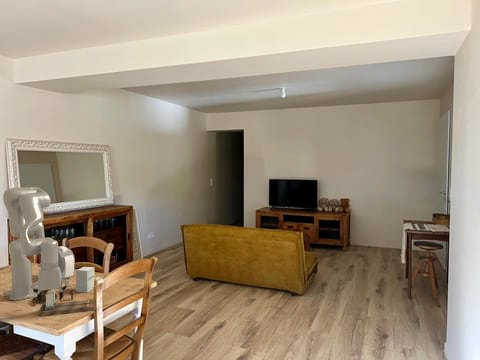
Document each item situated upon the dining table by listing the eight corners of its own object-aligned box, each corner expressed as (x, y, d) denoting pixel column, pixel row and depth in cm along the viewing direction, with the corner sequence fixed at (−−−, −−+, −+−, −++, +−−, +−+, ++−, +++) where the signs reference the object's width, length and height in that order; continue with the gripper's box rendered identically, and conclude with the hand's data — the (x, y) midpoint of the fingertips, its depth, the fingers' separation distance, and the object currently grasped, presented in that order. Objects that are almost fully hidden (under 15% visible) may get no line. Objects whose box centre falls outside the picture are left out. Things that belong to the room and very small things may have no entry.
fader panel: (39, 316, 166) (39, 309, 166) (44, 308, 176) (43, 301, 175) (97, 309, 174) (97, 302, 174) (99, 302, 184) (99, 295, 183)
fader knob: (44, 310, 168) (44, 295, 168) (47, 304, 175) (47, 290, 174) (53, 308, 169) (53, 294, 169) (56, 303, 176) (56, 289, 176)
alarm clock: (76, 278, 222) (75, 247, 221) (63, 282, 215) (63, 250, 214) (59, 274, 231) (59, 244, 231) (47, 277, 224) (46, 246, 223)
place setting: (53, 293, 198) (53, 283, 198) (77, 299, 189) (77, 289, 188) (22, 304, 182) (22, 293, 182) (46, 311, 173) (46, 300, 173)
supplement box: (87, 292, 197) (86, 270, 197) (75, 291, 199) (75, 270, 198) (95, 288, 205) (94, 267, 204) (84, 287, 206) (83, 266, 206)
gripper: (27, 269, 165) (28, 305, 166) (68, 266, 170) (68, 301, 171) (31, 265, 172) (32, 299, 173) (70, 262, 177) (71, 295, 178)
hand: (50, 300), depth 172 cm, fingers open, 8 cm apart
